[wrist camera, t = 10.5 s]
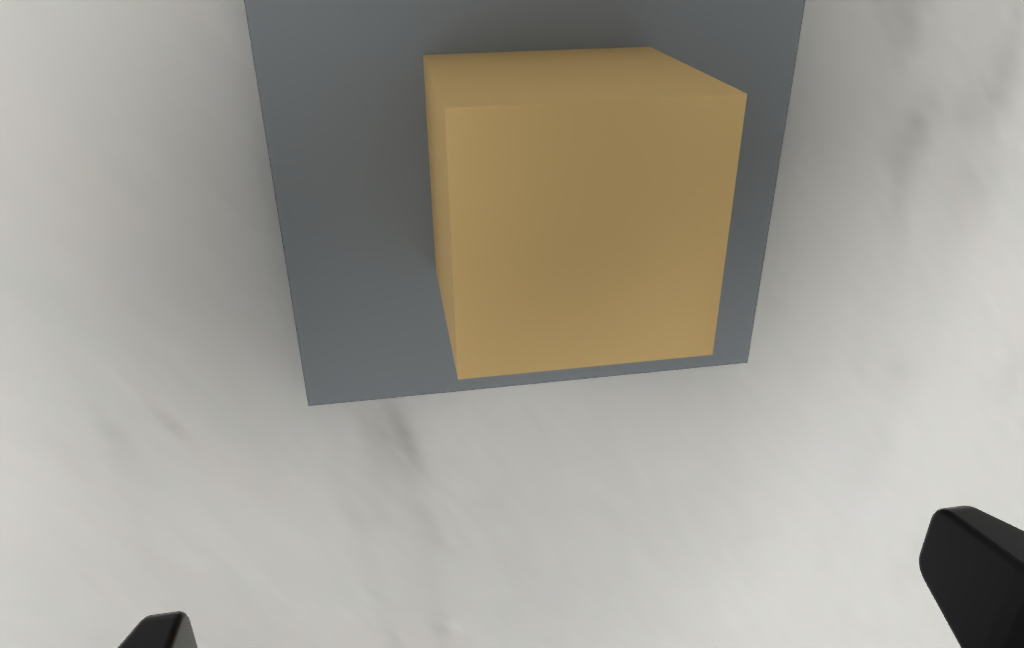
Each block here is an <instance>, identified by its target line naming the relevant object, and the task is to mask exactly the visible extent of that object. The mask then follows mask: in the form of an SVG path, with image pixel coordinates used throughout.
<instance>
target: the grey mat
mask: <svg viewBox="0 0 1024 648" xmlns="http://www.w3.org/2000/svg"><path fill="white" fill-rule="evenodd" d="M244 2H245V8H246V15H247V21H248V27H249V34H250V40H251V46H252V52H253V59H254V65H255V71H256V78H257V84H258V90H259V97H260V103H261V109H262V116H263V122H264V128H265V134H266V141H267V147H268V153H269V160H270V166H271V172H272V179H273V185H274V191H275V198H276V204H277V210H278V216H279V223H280V229H281V235H282V242H283V248H284V254H285V261H286V267H287V273H288V280H289V286H290V292H291V298H292V305H293V311H294V317H295V324H296V330H297V336H298V343H299V349H300V355H301V362H302V368H303V374H304V380H305V387H306V393H307V399H308V406H313V405H323V404H333V403H343V402H353V401H364V400H374V399H384V398H394V397H404V396H414V395H424V394H434V393H445V392H455V391H465V390H475V389H485V388H495V387H505V386H515V385H526V384H536V383H546V382H556V381H566V380H576V379H586V378H596V377H607V376H617V375H627V374H637V373H647V372H657V371H667V370H678V369H688V368H698V367H708V366H718V365H728V364H738V363H747V361H748V355H749V349H750V342H751V336H752V330H753V324H754V317H755V311H756V305H757V299H758V292H759V286H760V280H761V274H762V267H763V261H764V255H765V249H766V243H767V236H768V230H769V224H770V218H771V211H772V205H773V199H774V193H775V186H776V180H777V174H778V168H779V161H780V155H781V149H782V143H783V136H784V130H785V124H786V118H787V111H788V105H789V99H790V93H791V86H792V80H793V74H794V68H795V62H796V55H797V49H798V43H799V37H800V30H801V24H802V18H803V12H804V5H805V0H244ZM626 47H651V48H653V49H656V50H658V51H660V52H662V53H664V54H666V55H668V56H670V57H672V58H674V59H676V60H678V61H680V62H682V63H685V64H687V65H689V66H691V67H693V68H695V69H697V70H699V71H701V72H703V73H705V74H707V75H709V76H712V77H714V78H716V79H718V80H720V81H722V82H724V83H726V84H728V85H730V86H732V87H734V88H736V89H738V90H741V91H743V92H745V93H747V99H746V107H745V114H744V122H743V129H742V137H741V144H740V152H739V159H738V167H737V174H736V182H735V189H734V197H733V205H732V212H731V220H730V227H729V235H728V242H727V250H726V257H725V265H724V272H723V280H722V287H721V295H720V302H719V310H718V317H717V325H716V332H715V340H714V347H713V355H705V356H695V357H684V358H674V359H664V360H654V361H643V362H633V363H623V364H613V365H603V366H592V367H582V368H572V369H562V370H551V371H541V372H531V373H521V374H511V375H500V376H490V377H480V378H470V379H460V380H458V377H457V372H456V367H455V362H454V357H453V352H452V348H451V343H450V338H449V333H448V328H447V323H446V318H445V313H444V308H443V303H442V298H441V293H440V289H439V284H438V279H437V274H436V265H435V248H434V232H433V215H432V199H431V182H430V165H429V149H428V132H427V116H426V99H425V83H424V66H423V55H436V54H463V53H490V52H517V51H544V50H572V49H599V48H626Z"/></svg>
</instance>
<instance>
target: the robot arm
mask: <svg viewBox="0 0 1024 648" xmlns="http://www.w3.org/2000/svg"><path fill="white" fill-rule="evenodd" d="M919 566H920V570H921V573H922V576H923V578H924V580H925V582H926V584H927V586H928V588H929V589H930V591H931V593H932V595H933V597H934V599H935V600H936V602H937V604H938V606H939V608H940V610H941V611H942V613H943V615H944V617H945V619H946V621H947V622H948V624H949V626H950V628H951V630H952V632H953V633H954V635H955V637H956V639H957V641H958V643H959V644H960V646H961V648H1024V531H1023V530H1020V529H1018V528H1016V527H1014V526H1012V525H1010V524H1008V523H1006V522H1004V521H1002V520H999V519H997V518H995V517H993V516H991V515H989V514H987V513H985V512H983V511H981V510H979V509H976V508H974V507H971V506H958V507H950V508H943V509H939V510H937V511H936V512H935V513H934V514H933V516H932V518H931V521H930V524H929V527H928V530H927V533H926V537H925V540H924V543H923V546H922V549H921V552H920V556H919ZM118 648H197V644H196V641H195V637H194V634H193V630H192V626H191V623H190V620H189V618H188V616H187V615H186V613H184V612H180V611H178V612H170V613H163V614H156V615H150V616H147V617H145V618H144V619H143V620H141V621H140V622H139V624H138V625H137V626H136V627H135V628H134V629H133V631H132V632H131V633H130V634H129V635H128V636H127V638H126V639H125V640H124V641H123V642H122V643H121V645H120V646H119V647H118Z"/></svg>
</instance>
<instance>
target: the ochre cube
mask: <svg viewBox="0 0 1024 648" xmlns="http://www.w3.org/2000/svg"><path fill="white" fill-rule="evenodd" d="M423 66H424V83H425V99H426V116H427V132H428V149H429V165H430V182H431V199H432V215H433V232H434V248H435V265H436V274H437V279H438V284H439V289H440V293H441V298H442V303H443V308H444V313H445V318H446V323H447V328H448V333H449V338H450V343H451V348H452V352H453V357H454V362H455V367H456V372H457V377H458V380H460V379H470V378H480V377H490V376H500V375H511V374H521V373H531V372H541V371H551V370H562V369H572V368H582V367H592V366H603V365H613V364H623V363H633V362H643V361H654V360H664V359H674V358H684V357H695V356H705V355H713V347H714V340H715V332H716V325H717V317H718V310H719V302H720V295H721V287H722V280H723V272H724V265H725V257H726V250H727V242H728V235H729V227H730V220H731V212H732V205H733V197H734V189H735V182H736V174H737V167H738V159H739V152H740V144H741V137H742V129H743V122H744V114H745V107H746V99H747V93H745V92H743V91H741V90H738V89H736V88H734V87H732V86H730V85H728V84H726V83H724V82H722V81H720V80H718V79H716V78H714V77H712V76H709V75H707V74H705V73H703V72H701V71H699V70H697V69H695V68H693V67H691V66H689V65H687V64H685V63H682V62H680V61H678V60H676V59H674V58H672V57H670V56H668V55H666V54H664V53H662V52H660V51H658V50H656V49H653V48H651V47H626V48H599V49H572V50H544V51H517V52H490V53H463V54H436V55H423Z"/></svg>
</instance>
